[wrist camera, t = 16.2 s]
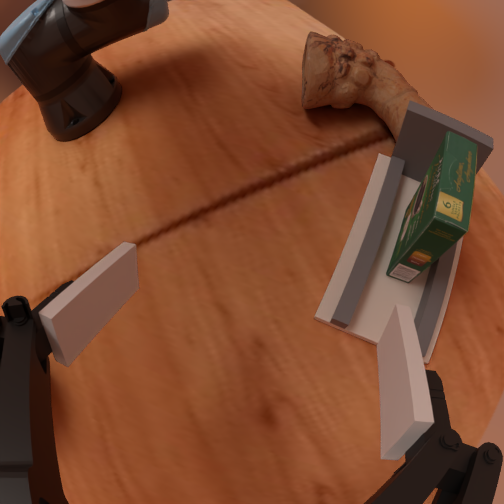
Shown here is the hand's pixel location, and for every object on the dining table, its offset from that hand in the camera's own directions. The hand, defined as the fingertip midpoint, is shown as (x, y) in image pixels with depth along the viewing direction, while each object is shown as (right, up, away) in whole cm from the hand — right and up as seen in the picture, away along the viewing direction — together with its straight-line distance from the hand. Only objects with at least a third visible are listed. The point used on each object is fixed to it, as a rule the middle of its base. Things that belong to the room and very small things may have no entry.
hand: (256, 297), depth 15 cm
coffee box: (+15, +3, +14) cm, 21 cm away
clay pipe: (+13, +21, +24) cm, 34 cm away
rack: (+15, +2, +16) cm, 22 cm away
